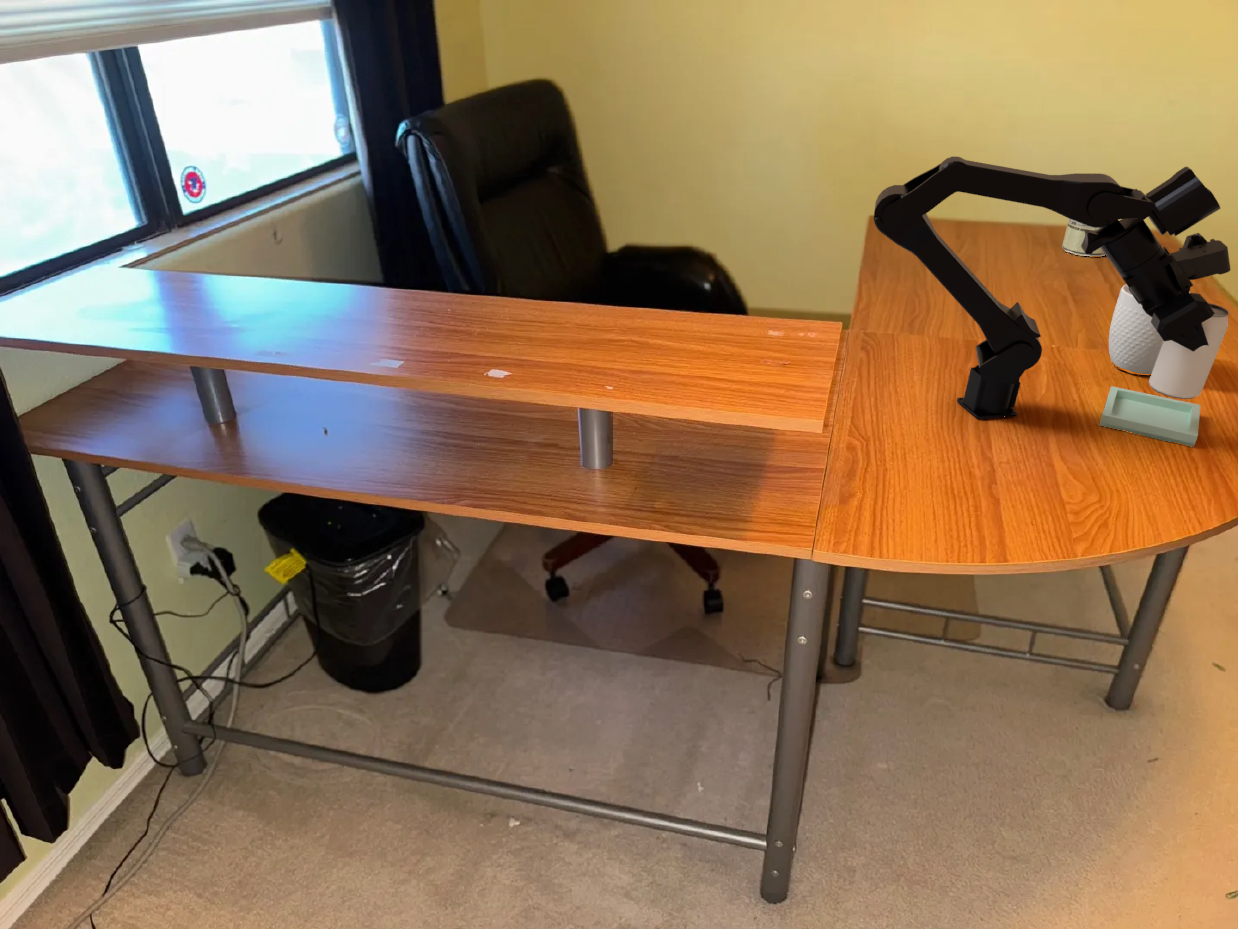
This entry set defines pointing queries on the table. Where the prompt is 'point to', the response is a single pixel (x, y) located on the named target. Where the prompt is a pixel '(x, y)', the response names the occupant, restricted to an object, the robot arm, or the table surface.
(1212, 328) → the can
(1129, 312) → the mug
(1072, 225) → the coffee can
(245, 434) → the table surface
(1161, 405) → the tray
